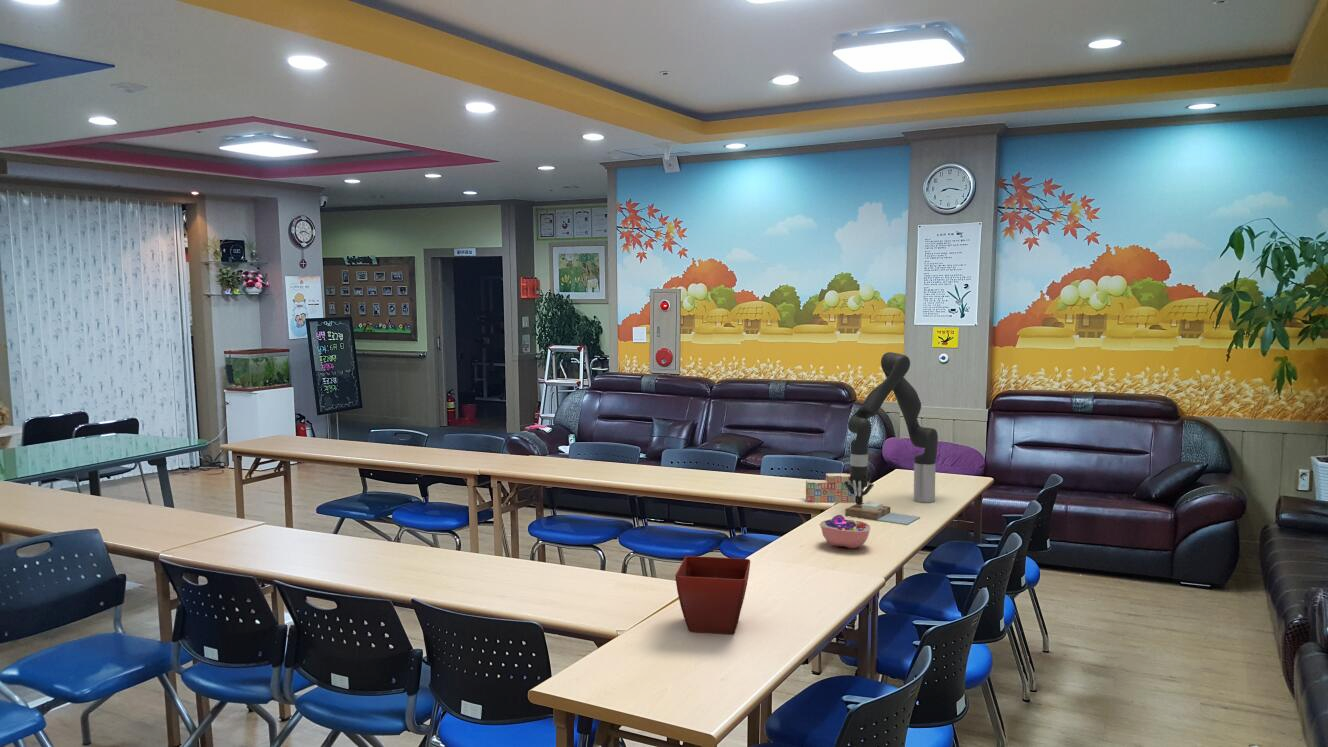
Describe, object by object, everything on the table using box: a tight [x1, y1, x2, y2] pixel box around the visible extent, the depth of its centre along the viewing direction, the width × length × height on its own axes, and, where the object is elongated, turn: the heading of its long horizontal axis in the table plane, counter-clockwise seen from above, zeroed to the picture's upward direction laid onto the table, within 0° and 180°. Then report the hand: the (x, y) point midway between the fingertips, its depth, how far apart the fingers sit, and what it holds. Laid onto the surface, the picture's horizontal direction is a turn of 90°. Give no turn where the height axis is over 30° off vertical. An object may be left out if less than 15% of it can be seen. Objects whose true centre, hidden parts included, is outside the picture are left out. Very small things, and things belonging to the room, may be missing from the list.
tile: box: [862, 501, 884, 511], centre depth 376 cm, size 8×6×2 cm
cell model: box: [819, 514, 871, 549], centre depth 328 cm, size 17×20×11 cm
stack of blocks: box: [805, 472, 856, 504], centre depth 403 cm, size 21×6×12 cm, turn 87°
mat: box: [876, 512, 921, 526], centre depth 369 cm, size 14×13×1 cm
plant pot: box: [675, 555, 751, 635], centre depth 249 cm, size 19×19×17 cm
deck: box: [844, 502, 891, 522], centre depth 377 cm, size 14×14×3 cm
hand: (858, 504), depth 379 cm, fingers closed
